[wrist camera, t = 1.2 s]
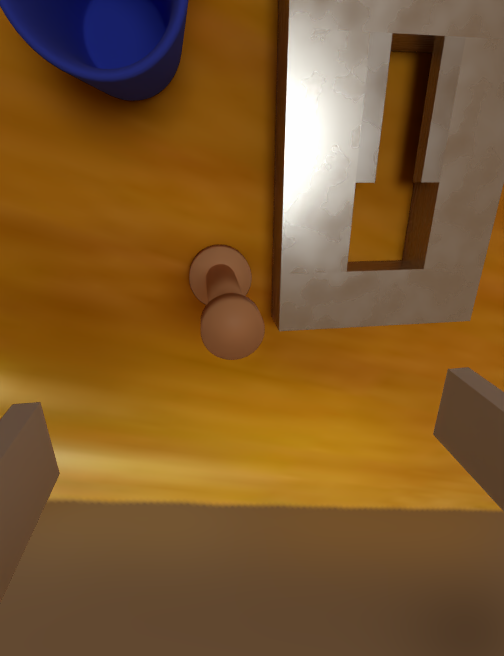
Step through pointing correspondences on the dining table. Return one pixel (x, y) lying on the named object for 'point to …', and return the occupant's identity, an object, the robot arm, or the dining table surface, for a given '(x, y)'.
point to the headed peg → (226, 302)
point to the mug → (106, 40)
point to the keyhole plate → (362, 153)
